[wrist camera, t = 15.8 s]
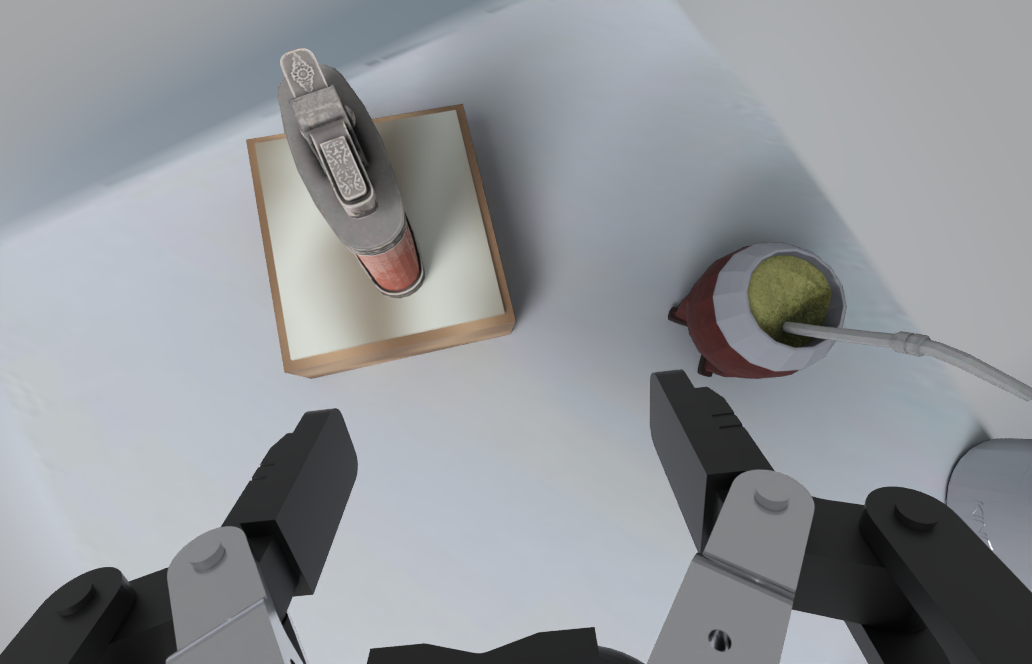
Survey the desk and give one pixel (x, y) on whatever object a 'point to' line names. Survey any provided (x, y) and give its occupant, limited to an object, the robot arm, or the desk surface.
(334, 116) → the lighter
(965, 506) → the robot arm
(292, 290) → the wooden flat block
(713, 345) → the mate gourd
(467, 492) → the desk surface
